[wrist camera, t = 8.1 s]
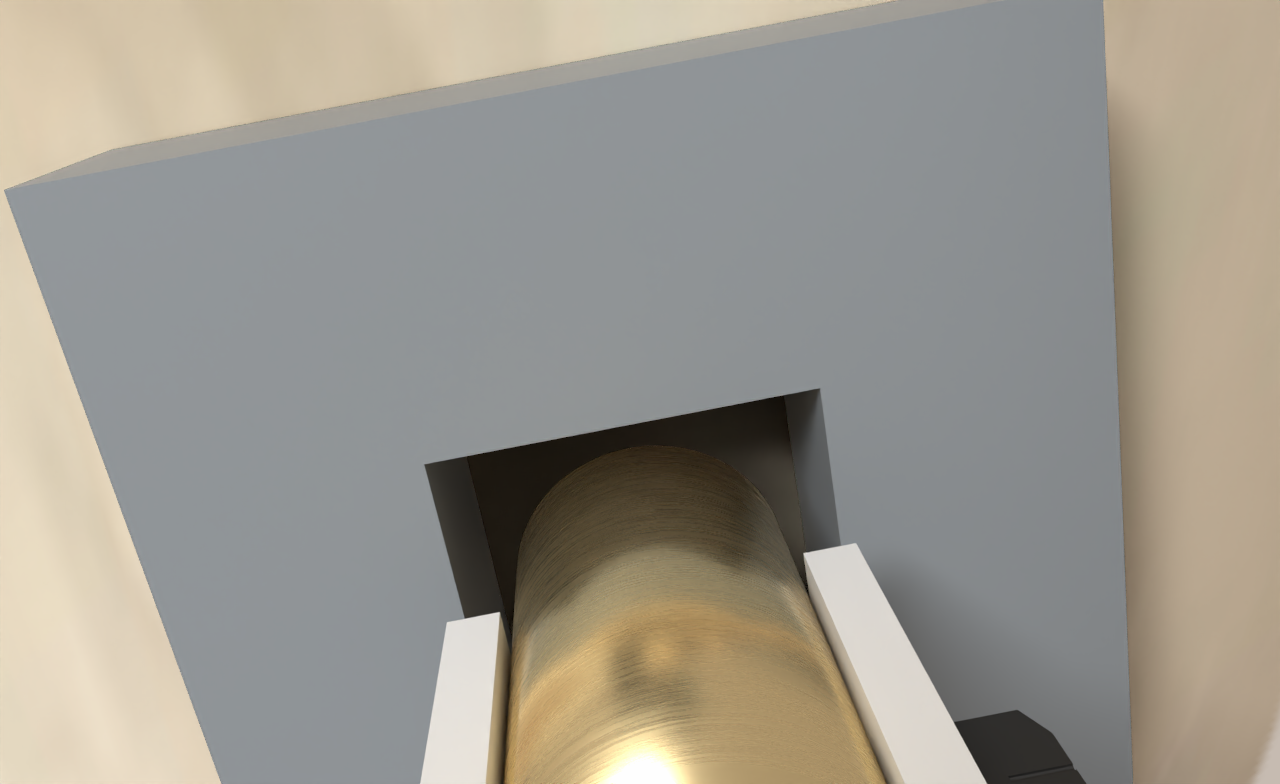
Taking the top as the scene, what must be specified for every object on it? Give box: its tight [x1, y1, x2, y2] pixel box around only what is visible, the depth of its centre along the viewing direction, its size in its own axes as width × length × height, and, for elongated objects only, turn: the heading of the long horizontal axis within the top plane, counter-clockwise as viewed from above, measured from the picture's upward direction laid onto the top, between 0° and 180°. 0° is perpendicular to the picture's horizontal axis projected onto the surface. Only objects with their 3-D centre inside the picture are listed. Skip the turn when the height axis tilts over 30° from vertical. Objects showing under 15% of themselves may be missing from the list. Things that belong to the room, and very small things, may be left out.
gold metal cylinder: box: [503, 446, 887, 784], centre depth 15 cm, size 4×4×8 cm
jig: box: [4, 0, 1133, 784], centre depth 20 cm, size 16×15×4 cm
